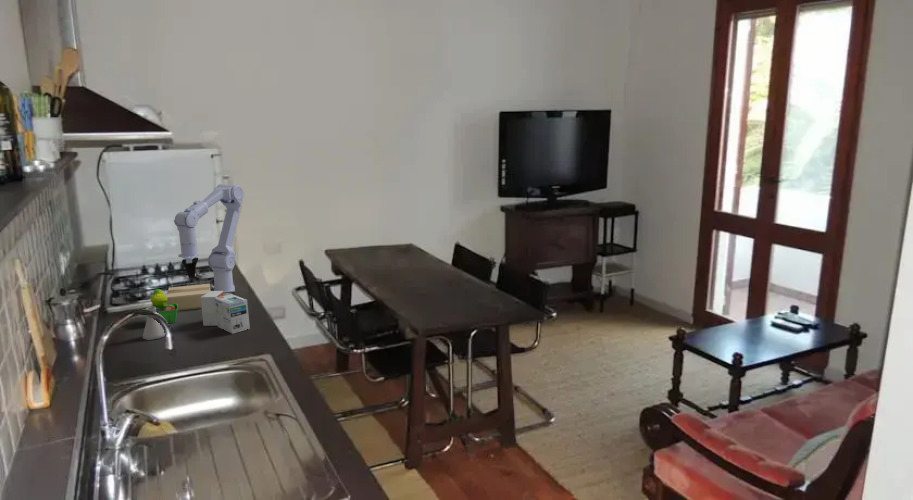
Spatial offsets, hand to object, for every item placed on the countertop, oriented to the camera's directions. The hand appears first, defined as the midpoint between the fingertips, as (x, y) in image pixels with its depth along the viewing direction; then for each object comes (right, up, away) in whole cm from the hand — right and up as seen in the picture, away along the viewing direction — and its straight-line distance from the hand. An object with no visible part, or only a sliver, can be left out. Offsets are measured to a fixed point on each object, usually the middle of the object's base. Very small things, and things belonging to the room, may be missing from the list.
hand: (192, 277), depth 249 cm
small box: (+17, -15, -22) cm, 32 cm away
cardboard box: (0, -10, -1) cm, 10 cm away
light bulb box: (+26, -17, -28) cm, 42 cm away
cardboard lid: (0, -6, -2) cm, 6 cm away
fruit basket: (-2, -15, -20) cm, 25 cm away
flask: (+2, -18, -35) cm, 40 cm away
